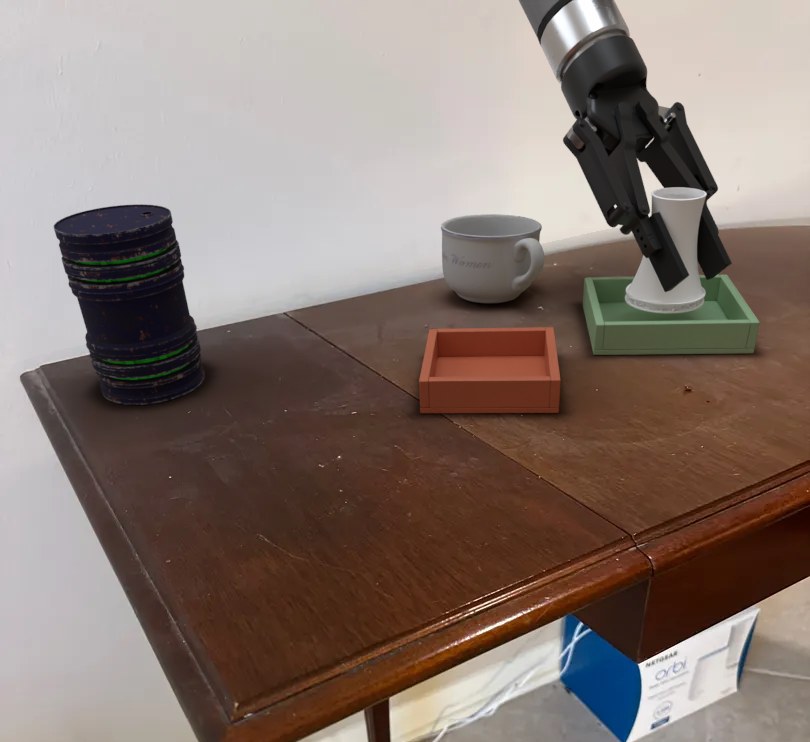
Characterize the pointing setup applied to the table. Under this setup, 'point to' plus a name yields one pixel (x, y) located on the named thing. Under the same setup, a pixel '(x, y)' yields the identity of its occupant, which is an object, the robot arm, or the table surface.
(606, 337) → the green tray
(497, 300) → the teacup
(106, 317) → the dark blue cylinder
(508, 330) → the terracotta tray
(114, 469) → the table surface
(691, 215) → the vase
